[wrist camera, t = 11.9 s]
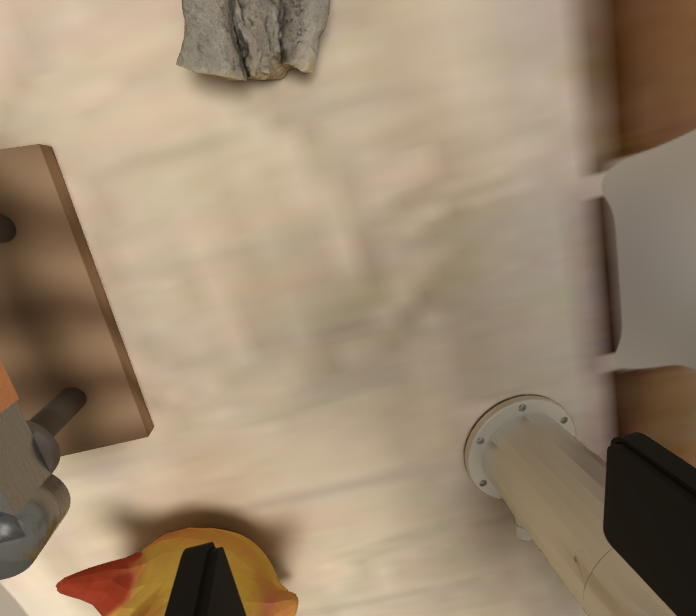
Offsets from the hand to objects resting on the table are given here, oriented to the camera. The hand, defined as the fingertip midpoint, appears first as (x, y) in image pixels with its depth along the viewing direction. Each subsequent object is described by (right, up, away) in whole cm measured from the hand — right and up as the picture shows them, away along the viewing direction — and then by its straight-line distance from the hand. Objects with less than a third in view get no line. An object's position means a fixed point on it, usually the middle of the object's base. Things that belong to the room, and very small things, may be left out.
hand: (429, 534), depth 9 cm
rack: (-26, +5, +22) cm, 34 cm away
